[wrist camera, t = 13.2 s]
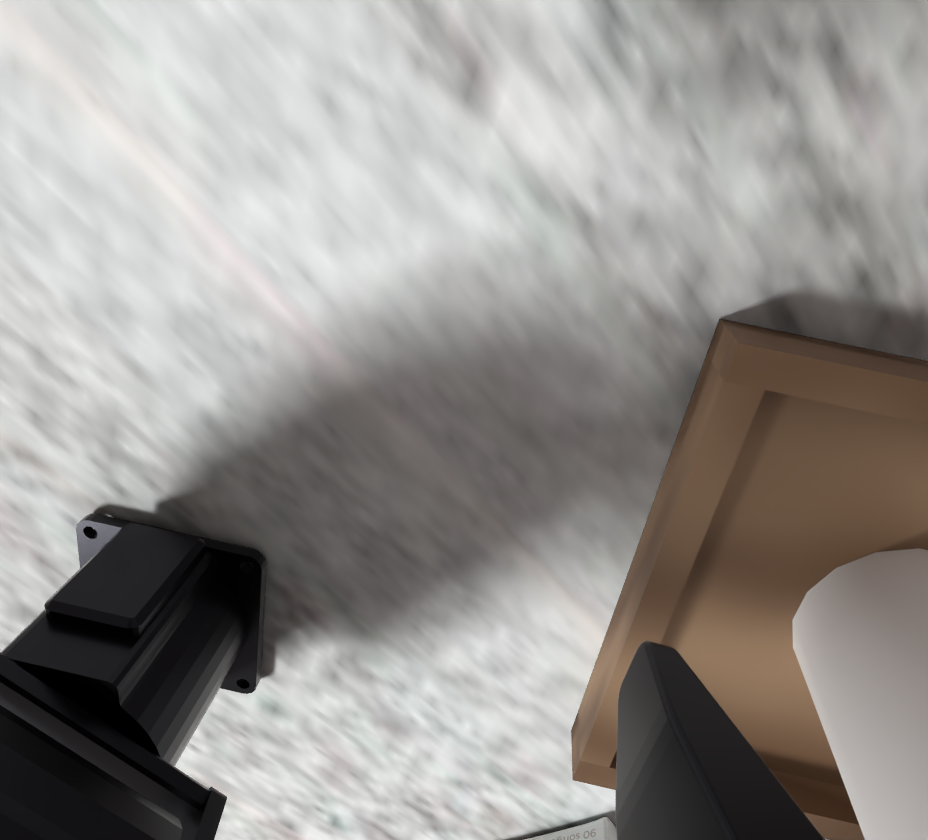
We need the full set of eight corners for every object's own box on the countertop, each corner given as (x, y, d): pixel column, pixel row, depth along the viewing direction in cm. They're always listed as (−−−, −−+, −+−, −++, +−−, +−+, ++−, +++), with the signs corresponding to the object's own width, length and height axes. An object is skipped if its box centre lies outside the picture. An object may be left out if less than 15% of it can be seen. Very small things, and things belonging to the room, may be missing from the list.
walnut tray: (1008, 830, 24) (1044, 888, 22) (571, 730, 24) (572, 779, 23) (1342, 446, 17) (1435, 486, 15) (719, 318, 17) (738, 343, 16)
